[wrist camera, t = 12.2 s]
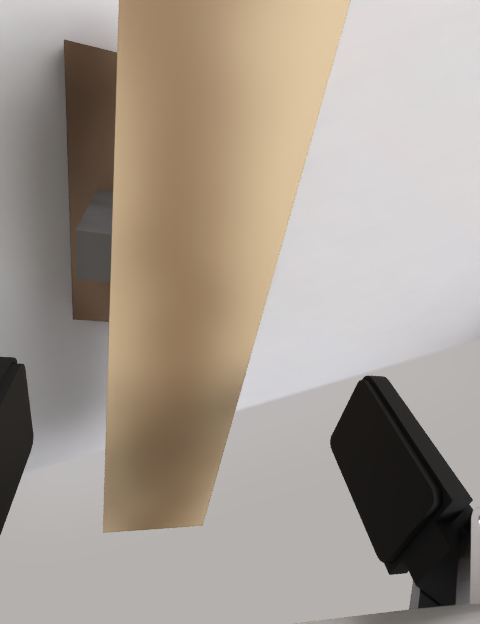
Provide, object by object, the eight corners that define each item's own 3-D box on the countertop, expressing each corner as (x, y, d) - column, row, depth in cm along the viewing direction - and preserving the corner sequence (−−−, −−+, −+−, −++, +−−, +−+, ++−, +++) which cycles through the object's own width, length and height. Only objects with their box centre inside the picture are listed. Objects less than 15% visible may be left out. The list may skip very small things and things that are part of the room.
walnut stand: (290, 95, 22) (346, 107, 15) (236, 319, 30) (257, 390, 23) (70, 41, 19) (21, 27, 12) (76, 307, 27) (49, 385, 20)
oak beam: (296, -48, 12) (385, -123, 7) (194, 433, 25) (202, 525, 20) (141, -103, 11) (126, -237, 6) (115, 434, 23) (103, 532, 18)
